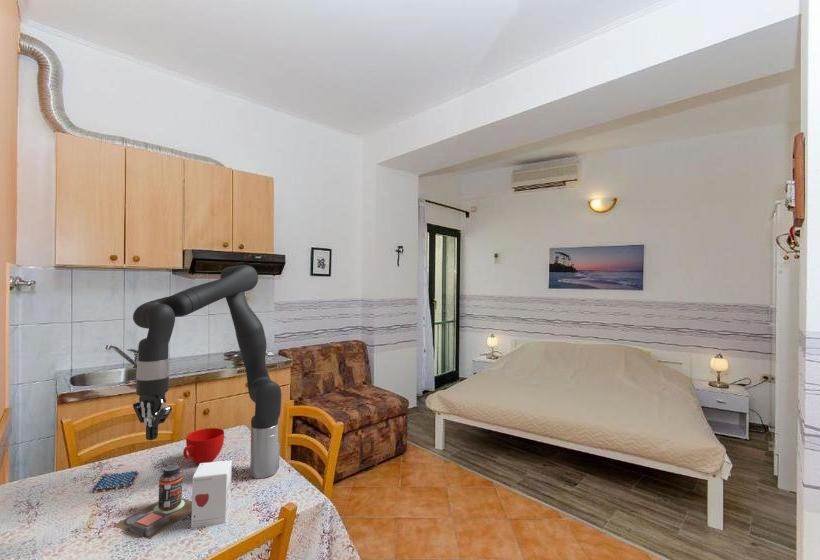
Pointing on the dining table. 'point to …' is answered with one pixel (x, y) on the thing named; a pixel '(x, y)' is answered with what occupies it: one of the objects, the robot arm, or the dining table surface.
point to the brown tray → (158, 526)
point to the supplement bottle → (170, 488)
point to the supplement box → (211, 493)
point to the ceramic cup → (204, 445)
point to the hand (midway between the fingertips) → (151, 438)
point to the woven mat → (115, 481)
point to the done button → (149, 519)
